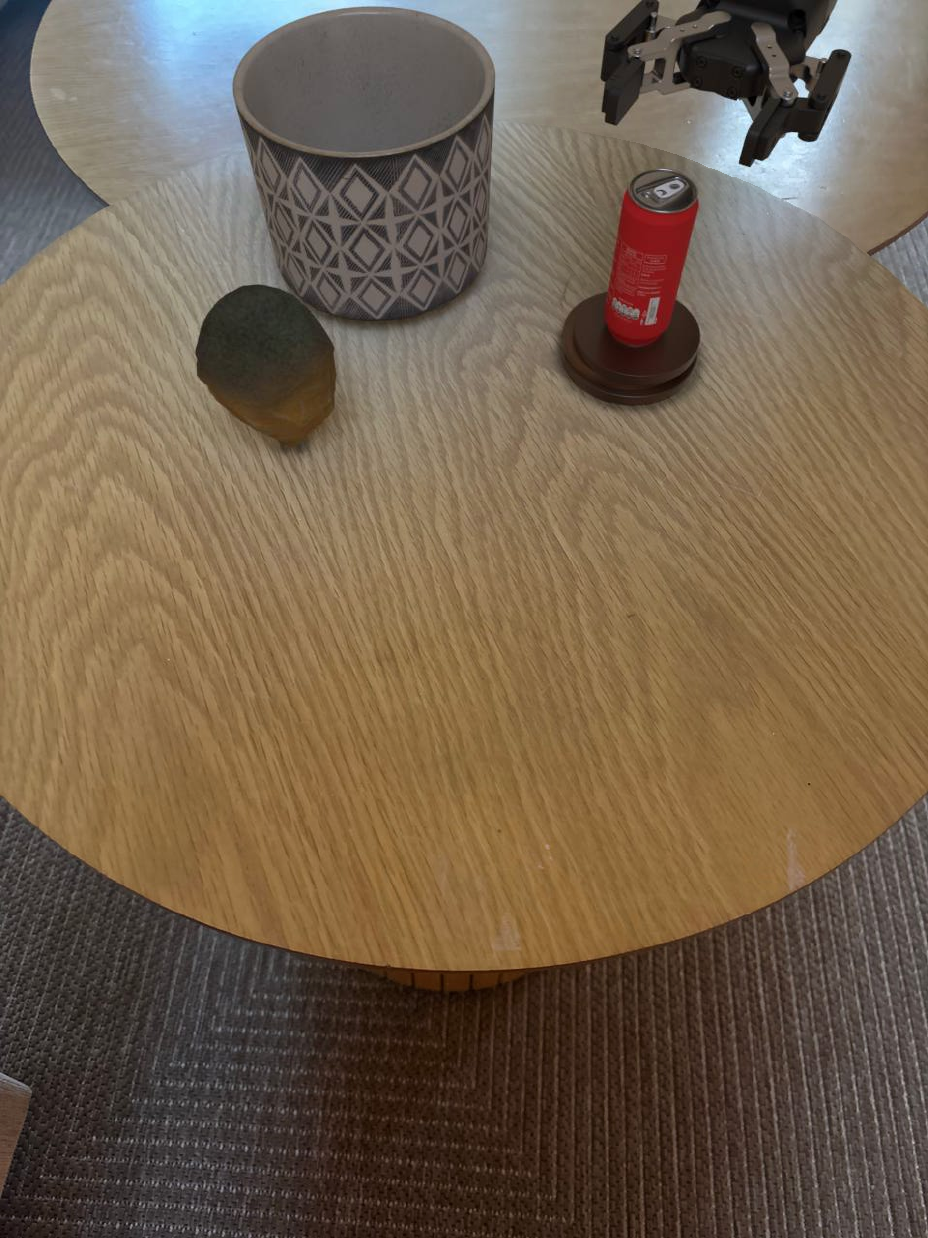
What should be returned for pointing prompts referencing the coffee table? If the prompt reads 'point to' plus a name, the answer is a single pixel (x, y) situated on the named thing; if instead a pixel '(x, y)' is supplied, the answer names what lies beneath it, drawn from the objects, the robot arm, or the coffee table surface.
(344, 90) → the planter
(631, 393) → the disc pile
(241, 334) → the decorative stone
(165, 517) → the coffee table surface
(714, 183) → the coffee table surface
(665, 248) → the beverage can
